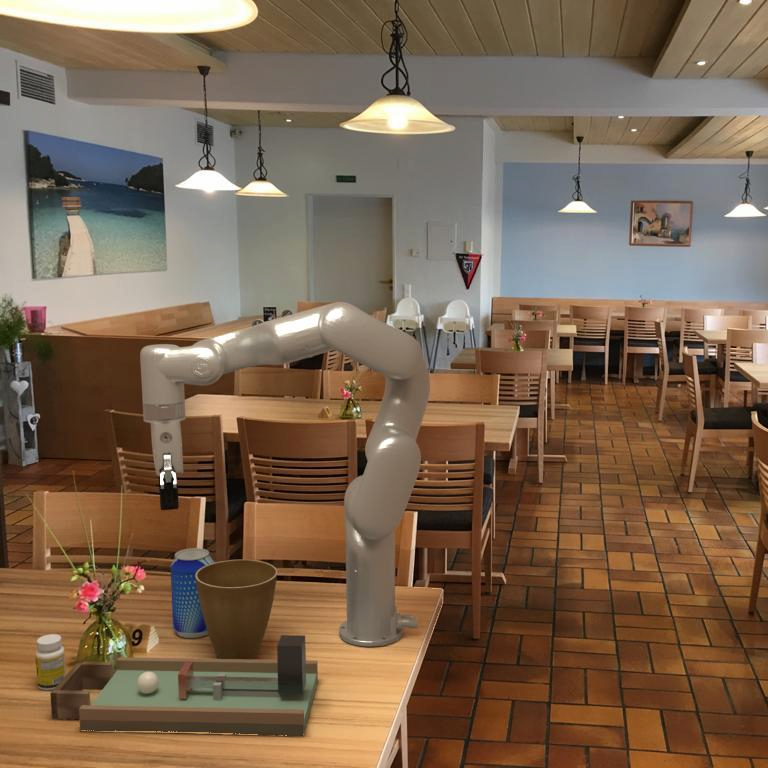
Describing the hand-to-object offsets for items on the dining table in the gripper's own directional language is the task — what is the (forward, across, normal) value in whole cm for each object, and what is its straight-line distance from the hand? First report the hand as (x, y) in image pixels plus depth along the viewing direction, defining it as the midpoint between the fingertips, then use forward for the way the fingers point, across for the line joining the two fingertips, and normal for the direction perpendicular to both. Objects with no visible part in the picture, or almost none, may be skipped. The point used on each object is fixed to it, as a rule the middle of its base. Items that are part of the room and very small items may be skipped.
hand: (169, 502), depth 164 cm
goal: (+28, -18, +16) cm, 37 cm away
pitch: (+28, -25, -4) cm, 38 cm away
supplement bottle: (+28, -10, +21) cm, 37 cm away
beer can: (+28, +6, -4) cm, 29 cm away
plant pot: (+28, -7, -11) cm, 31 cm away
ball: (+24, -22, +5) cm, 33 cm away
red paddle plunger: (+26, -27, -10) cm, 39 cm away
